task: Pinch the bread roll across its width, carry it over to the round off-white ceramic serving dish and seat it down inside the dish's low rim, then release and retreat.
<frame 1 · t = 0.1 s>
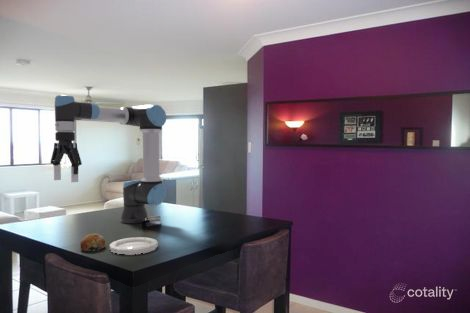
hand: (65, 181, 158), 28 cm above the table, fingers open, 13 cm apart
dish: (133, 247, 155), on the table
bread roll: (92, 249, 154), on the table
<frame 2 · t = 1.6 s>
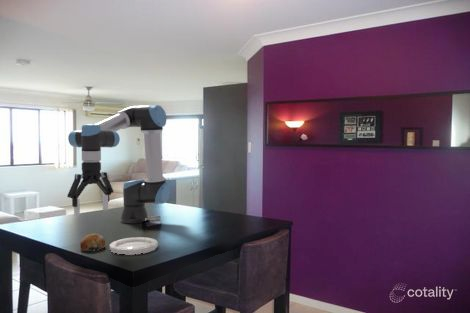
hand: (91, 212, 153), 15 cm above the table, fingers open, 13 cm apart
nothing on the table moved.
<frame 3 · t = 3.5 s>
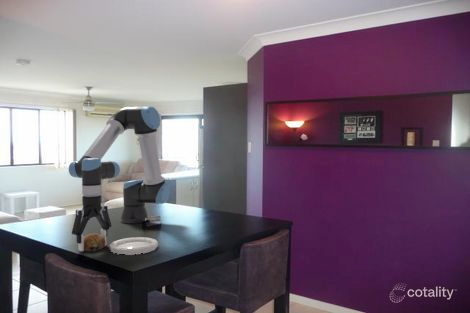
hand: (92, 247, 154), 0 cm above the table, fingers closed on bread roll, 10 cm apart
bread roll: (92, 248, 154), on the table, touching gripper
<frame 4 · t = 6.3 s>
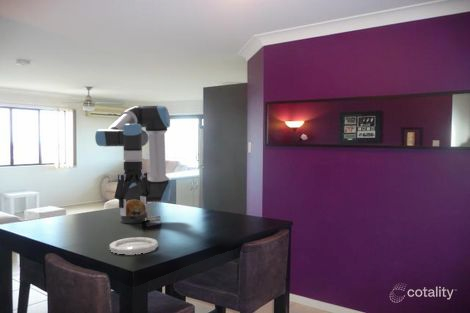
hand: (133, 213, 154), 15 cm above the table, fingers closed on bread roll, 10 cm apart
bread roll: (133, 214, 154), point 14 cm above the table, touching gripper
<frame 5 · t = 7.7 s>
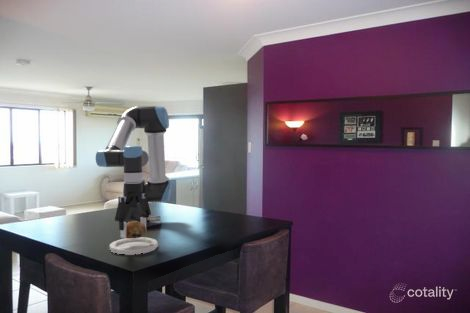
hand: (133, 235, 154), 6 cm above the table, fingers closed on bread roll, 10 cm apart
bread roll: (133, 236, 154), point 5 cm above the table, touching gripper
when the fingers open (4 cm above the table, at t = 9.1 s): bread roll drops 2 cm, resting on dish.
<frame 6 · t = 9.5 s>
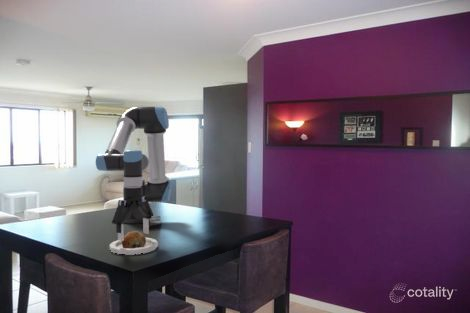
hand: (133, 236, 154), 5 cm above the table, fingers open, 13 cm apart
bread roll: (133, 246, 154), point 1 cm above the table, touching dish
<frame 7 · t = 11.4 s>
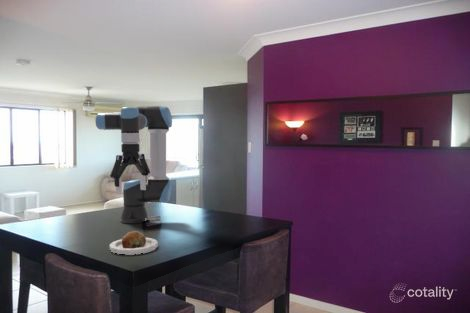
hand: (131, 192, 160), 23 cm above the table, fingers open, 13 cm apart
nothing on the table moved.
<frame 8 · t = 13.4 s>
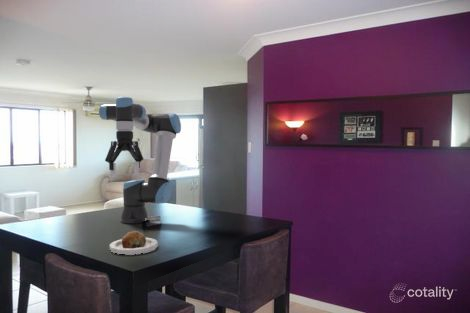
hand: (125, 176, 171), 29 cm above the table, fingers open, 13 cm apart
nothing on the table moved.
at the end: bread roll 0.3 cm from the dish (horizontally); bread roll point 0.6 cm above the table; the gripper is holding nothing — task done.
